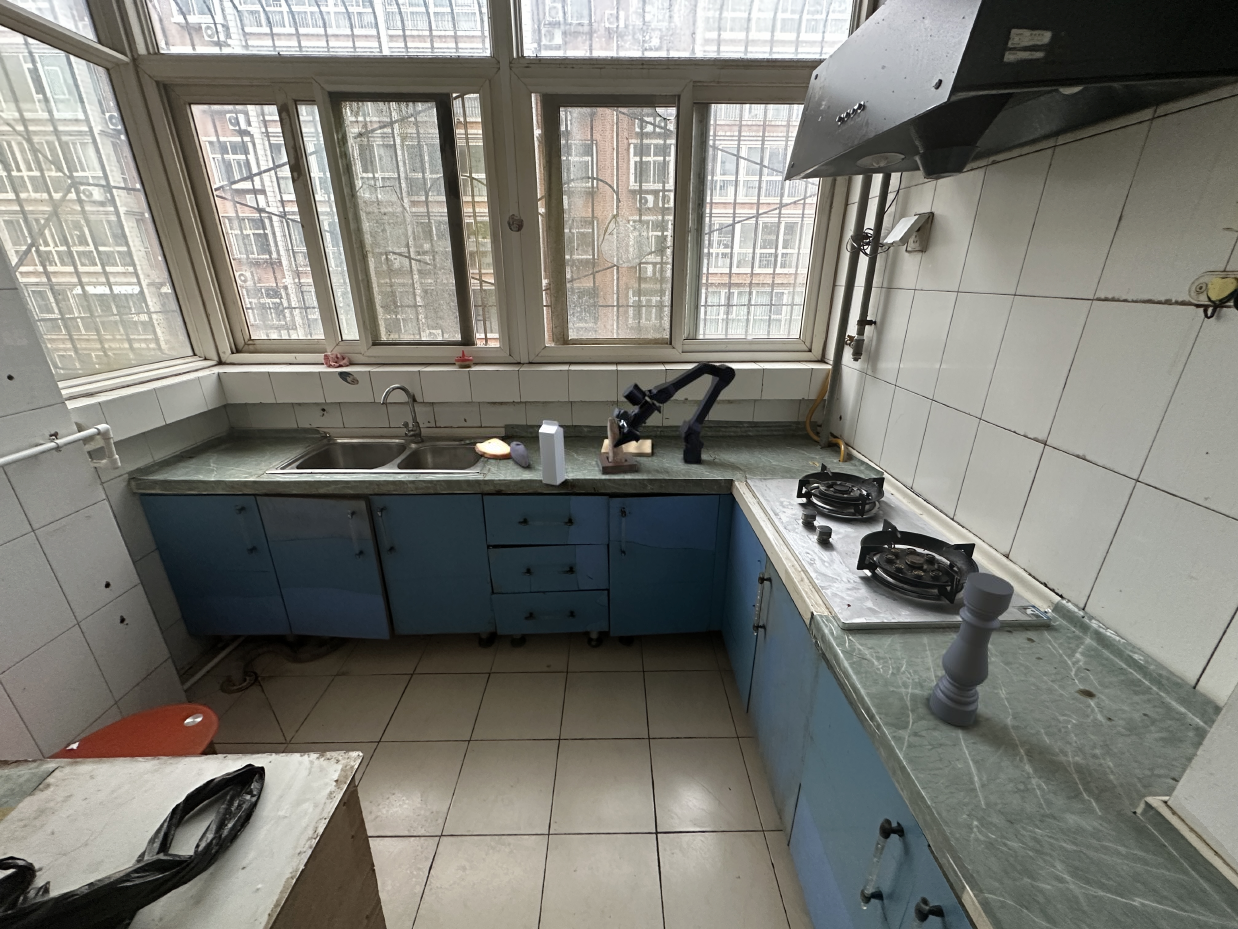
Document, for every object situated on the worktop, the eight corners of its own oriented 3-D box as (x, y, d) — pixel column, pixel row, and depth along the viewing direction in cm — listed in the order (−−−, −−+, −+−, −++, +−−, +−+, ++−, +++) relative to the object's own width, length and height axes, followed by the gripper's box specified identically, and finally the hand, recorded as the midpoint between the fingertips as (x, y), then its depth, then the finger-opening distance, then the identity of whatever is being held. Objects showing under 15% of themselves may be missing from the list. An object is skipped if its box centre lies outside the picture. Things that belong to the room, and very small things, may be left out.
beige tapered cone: (610, 461, 191) (609, 467, 185) (600, 416, 184) (599, 421, 179) (626, 458, 190) (625, 464, 184) (617, 414, 184) (616, 418, 178)
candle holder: (956, 695, 85) (995, 570, 76) (982, 726, 80) (1027, 595, 71) (921, 696, 85) (955, 571, 76) (944, 727, 79) (984, 596, 70)
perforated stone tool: (533, 468, 187) (532, 451, 184) (520, 470, 185) (518, 453, 182) (522, 456, 199) (521, 439, 197) (509, 458, 197) (508, 441, 195)
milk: (551, 477, 179) (547, 417, 171) (566, 479, 177) (562, 419, 169) (542, 483, 174) (537, 422, 166) (557, 485, 171) (553, 423, 164)
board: (651, 443, 213) (651, 439, 213) (651, 455, 198) (651, 452, 198) (604, 442, 214) (604, 439, 214) (601, 455, 199) (601, 451, 199)
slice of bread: (512, 459, 196) (511, 450, 195) (467, 459, 197) (466, 450, 195) (521, 444, 213) (521, 436, 212) (480, 444, 214) (479, 436, 212)
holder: (630, 459, 195) (630, 452, 194) (636, 471, 183) (637, 463, 182) (597, 461, 193) (597, 454, 192) (602, 474, 181) (601, 466, 180)
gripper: (621, 394, 188) (593, 424, 190) (631, 406, 171) (600, 439, 173) (642, 412, 192) (614, 442, 194) (653, 426, 175) (623, 458, 177)
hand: (612, 444), depth 184 cm, fingers closed on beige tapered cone, 4 cm apart
